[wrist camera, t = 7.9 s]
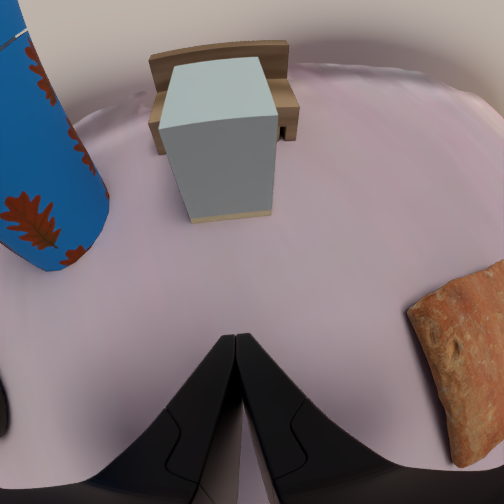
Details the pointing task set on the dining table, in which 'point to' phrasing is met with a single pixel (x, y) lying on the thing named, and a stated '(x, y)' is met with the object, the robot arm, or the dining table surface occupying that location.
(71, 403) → the dining table surface
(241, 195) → the cover
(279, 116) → the wooden toy bench
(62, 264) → the thermos
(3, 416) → the cola bottle
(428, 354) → the brown rounded piece
